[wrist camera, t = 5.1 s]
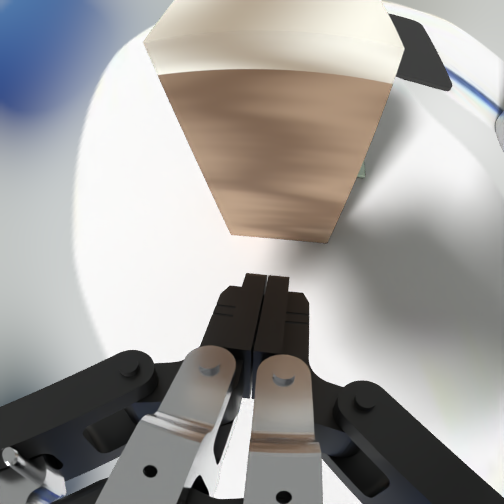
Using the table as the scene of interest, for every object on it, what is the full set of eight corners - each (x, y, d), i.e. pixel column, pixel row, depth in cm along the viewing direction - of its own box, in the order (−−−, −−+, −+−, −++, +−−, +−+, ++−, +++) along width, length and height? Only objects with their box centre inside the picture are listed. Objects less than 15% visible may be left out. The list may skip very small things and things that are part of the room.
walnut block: (328, 186, 19) (373, -12, 6) (326, 243, 18) (404, 48, 5) (239, 179, 20) (187, -16, 6) (230, 234, 19) (142, 42, 5)
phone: (421, 22, 25) (455, 90, 20) (419, 26, 25) (452, 95, 21) (368, 9, 26) (389, 71, 21) (368, 13, 26) (387, 77, 22)
